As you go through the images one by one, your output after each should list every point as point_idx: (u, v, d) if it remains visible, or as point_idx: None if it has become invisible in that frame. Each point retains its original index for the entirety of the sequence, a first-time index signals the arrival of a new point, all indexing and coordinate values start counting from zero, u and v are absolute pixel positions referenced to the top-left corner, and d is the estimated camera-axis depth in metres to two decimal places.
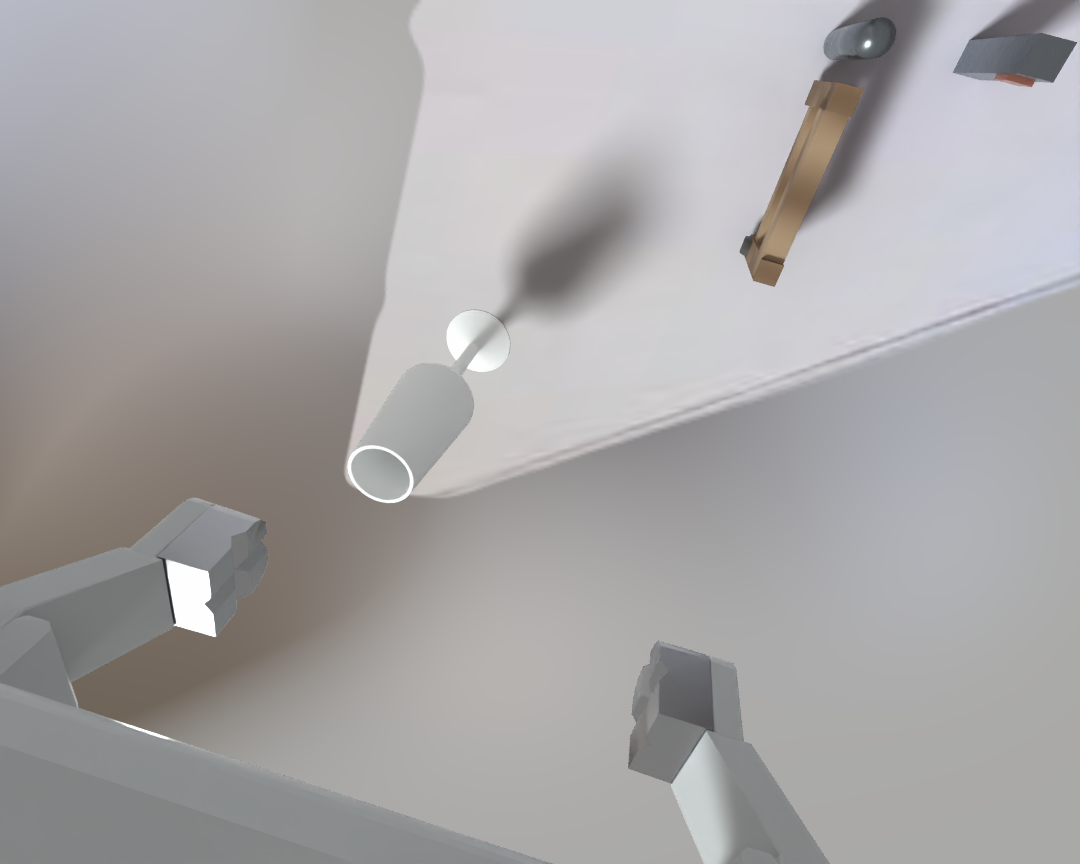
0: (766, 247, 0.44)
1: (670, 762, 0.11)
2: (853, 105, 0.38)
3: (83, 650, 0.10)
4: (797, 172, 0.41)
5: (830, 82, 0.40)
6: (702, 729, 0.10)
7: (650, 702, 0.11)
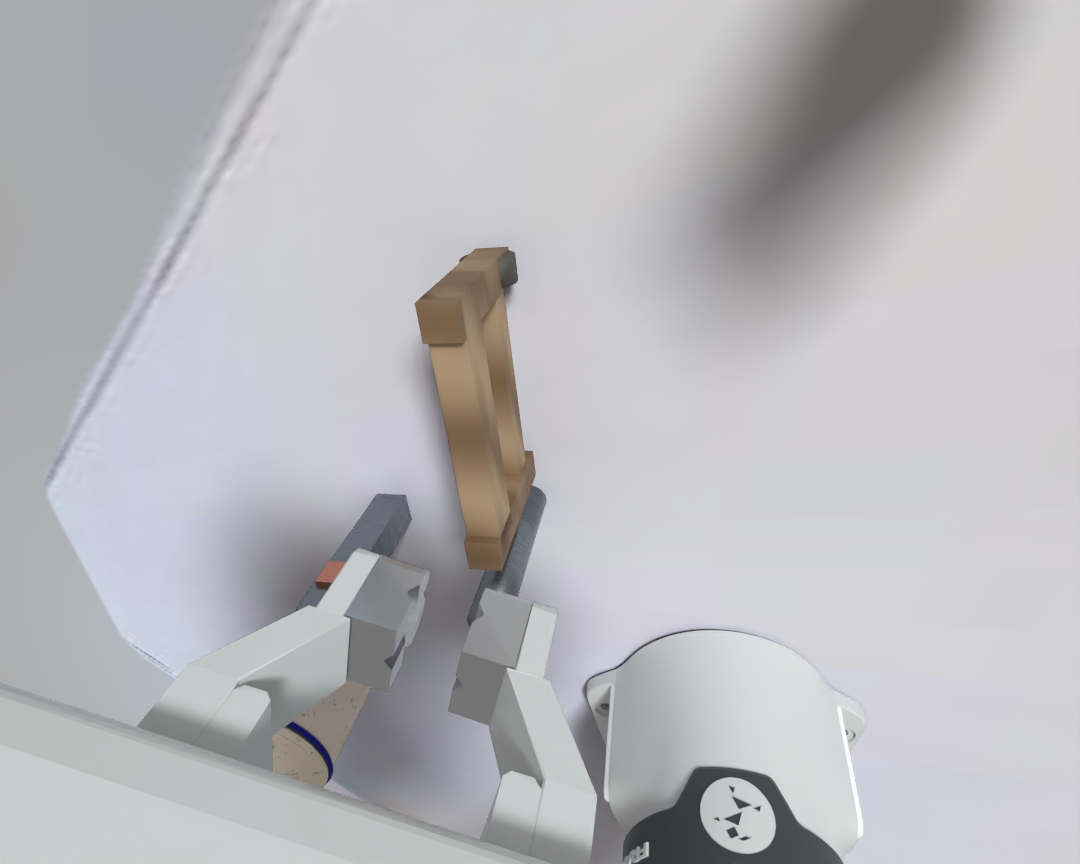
0: (469, 356, 0.24)
1: (484, 703, 0.11)
2: (469, 553, 0.28)
3: (275, 712, 0.10)
4: (489, 464, 0.26)
5: (513, 537, 0.30)
6: (504, 667, 0.10)
7: None
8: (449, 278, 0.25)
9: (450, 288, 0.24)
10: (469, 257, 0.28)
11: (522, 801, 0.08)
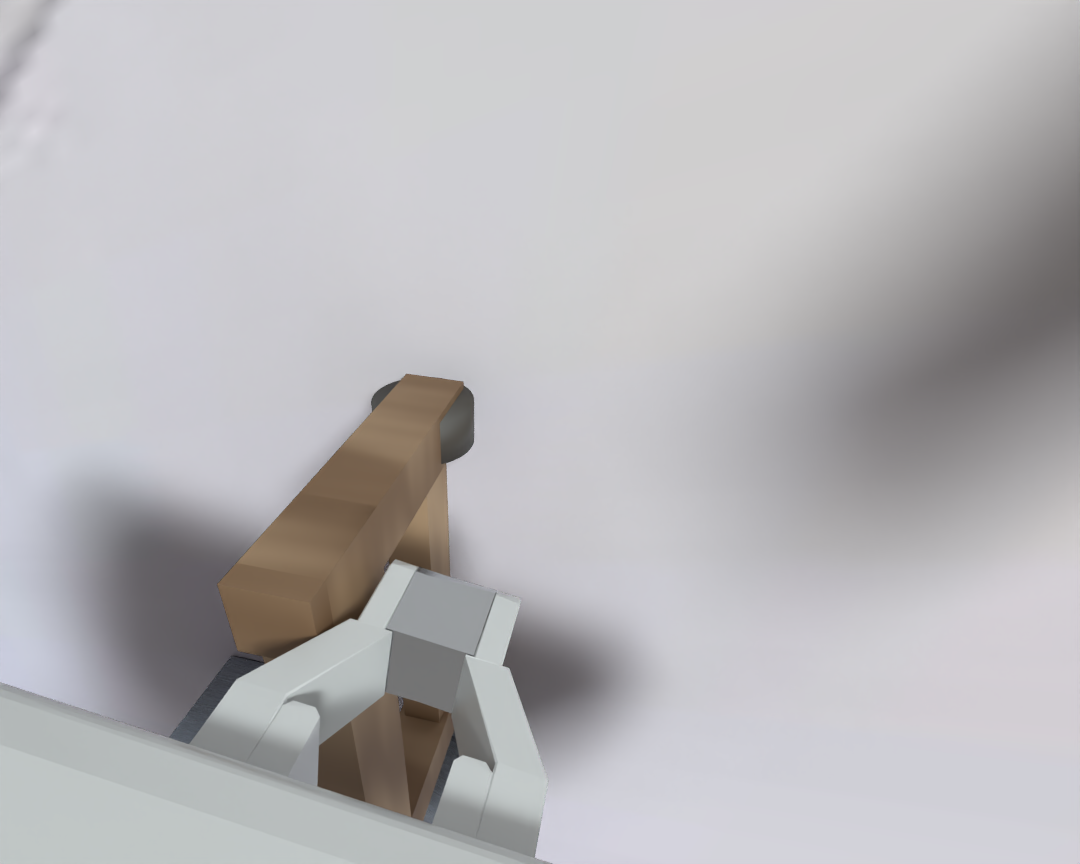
0: None
1: (445, 691, 0.11)
2: None
3: None
4: None
5: None
6: (464, 654, 0.10)
7: None
8: (329, 478, 0.12)
9: (317, 526, 0.11)
10: (388, 402, 0.15)
11: (472, 785, 0.08)
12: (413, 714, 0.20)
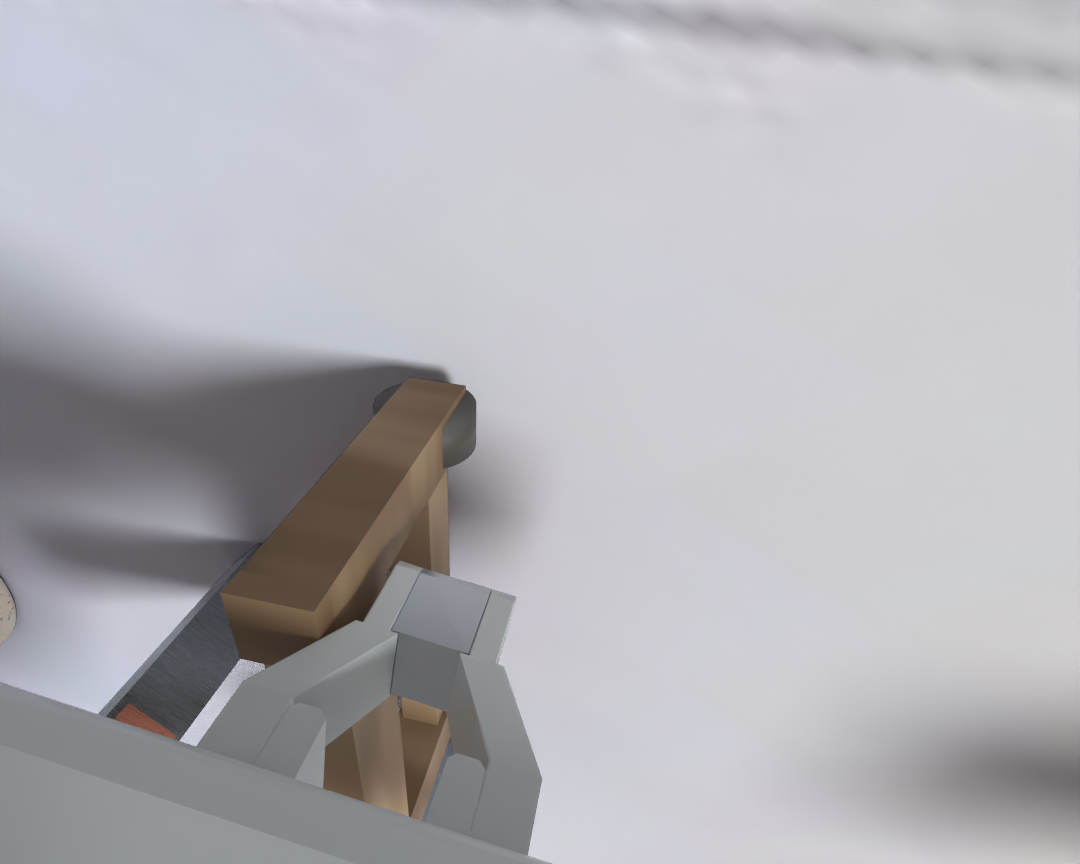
0: None
1: (440, 689, 0.11)
2: None
3: None
4: None
5: None
6: (458, 653, 0.10)
7: None
8: (331, 484, 0.12)
9: (321, 533, 0.11)
10: (390, 406, 0.15)
11: (465, 783, 0.08)
12: (411, 716, 0.20)
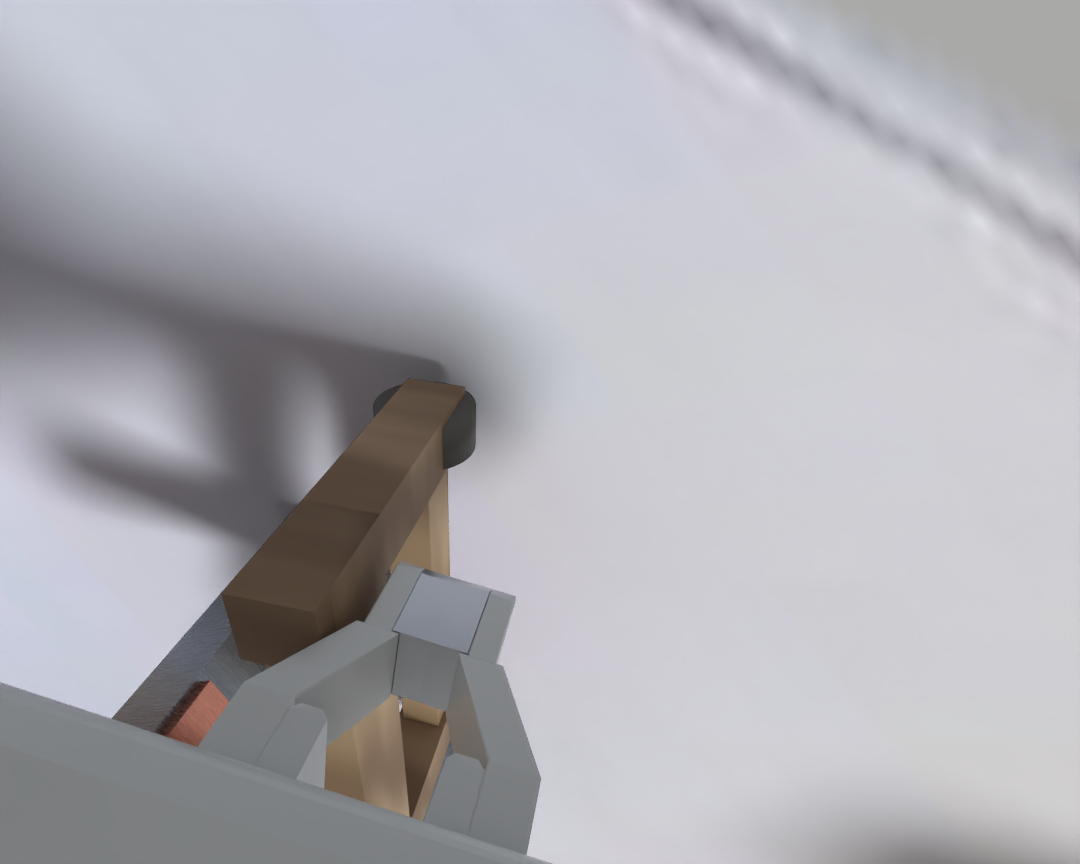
0: None
1: (439, 689, 0.11)
2: None
3: None
4: None
5: None
6: (458, 652, 0.10)
7: None
8: (332, 485, 0.12)
9: (321, 534, 0.11)
10: (390, 407, 0.15)
11: (464, 782, 0.08)
12: (412, 717, 0.20)
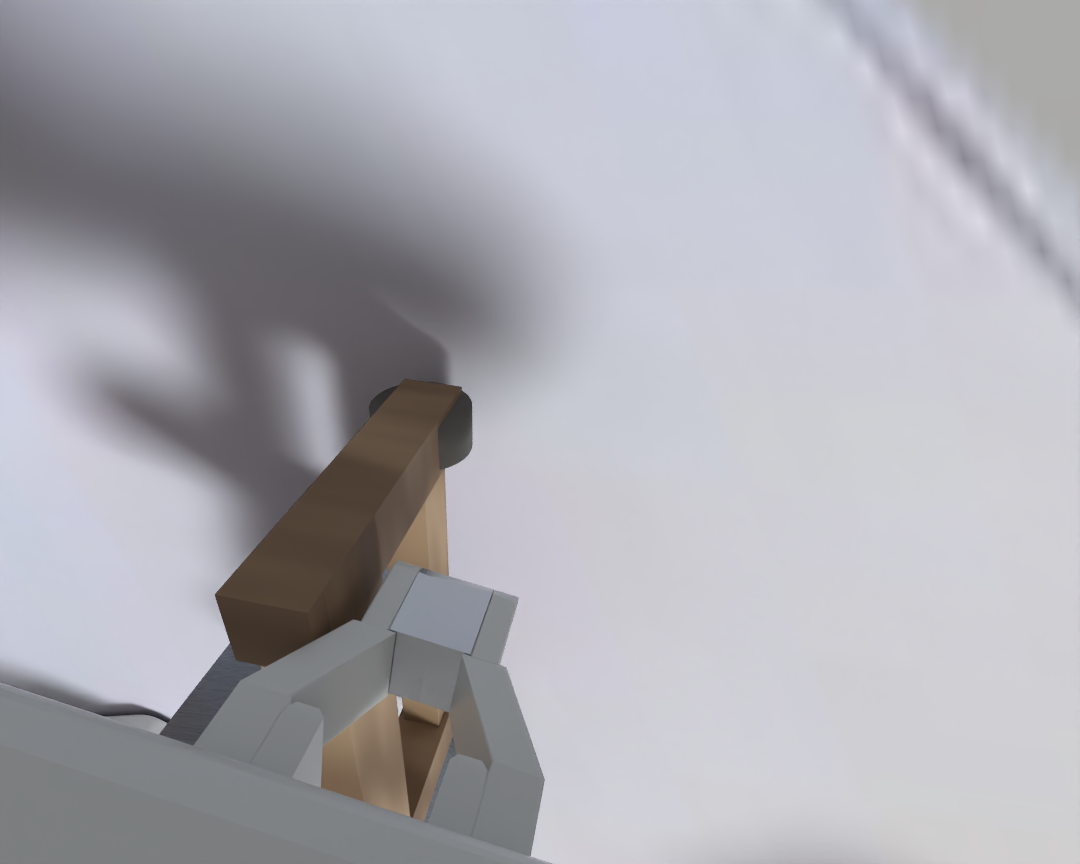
0: None
1: (442, 690, 0.11)
2: None
3: None
4: None
5: None
6: (461, 653, 0.10)
7: None
8: (326, 486, 0.12)
9: (315, 535, 0.11)
10: (386, 408, 0.15)
11: (468, 783, 0.08)
12: (412, 718, 0.20)
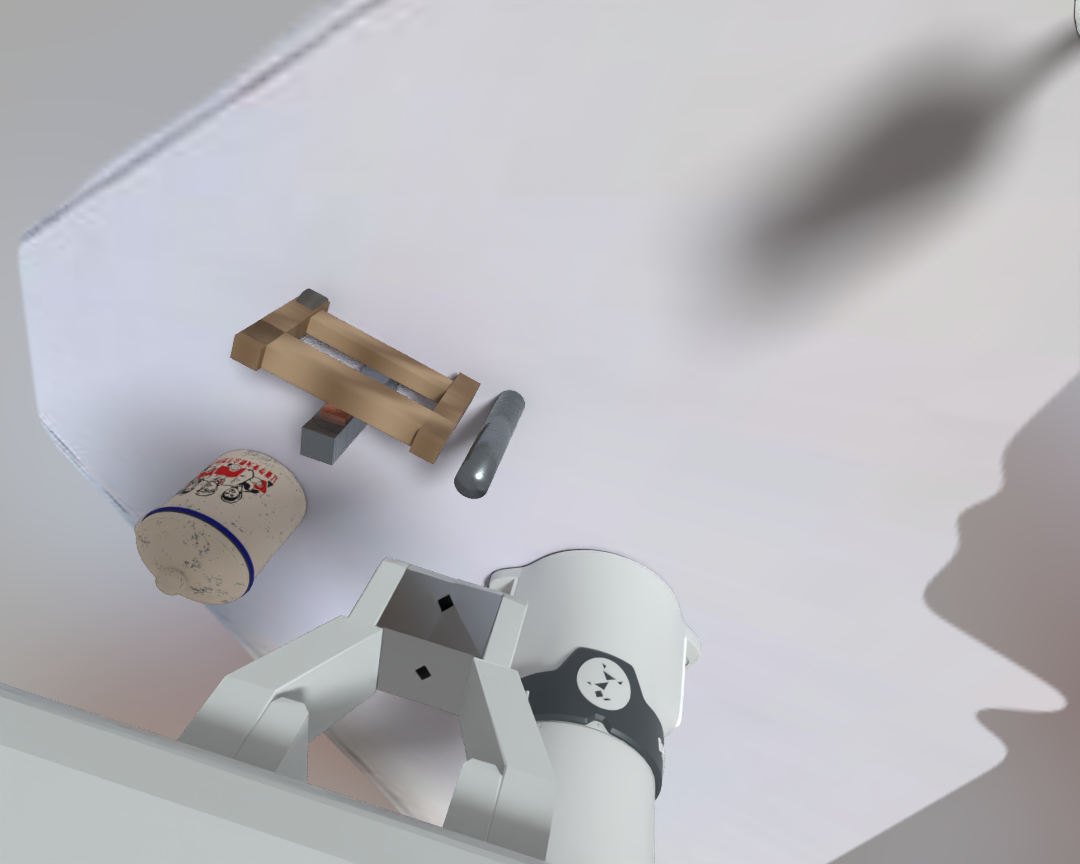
0: (279, 352, 0.35)
1: (453, 693, 0.11)
2: (419, 454, 0.36)
3: (308, 723, 0.10)
4: (362, 393, 0.35)
5: (454, 424, 0.37)
6: (472, 657, 0.10)
7: None
8: None
9: None
10: None
11: (482, 788, 0.08)
12: (439, 399, 0.40)
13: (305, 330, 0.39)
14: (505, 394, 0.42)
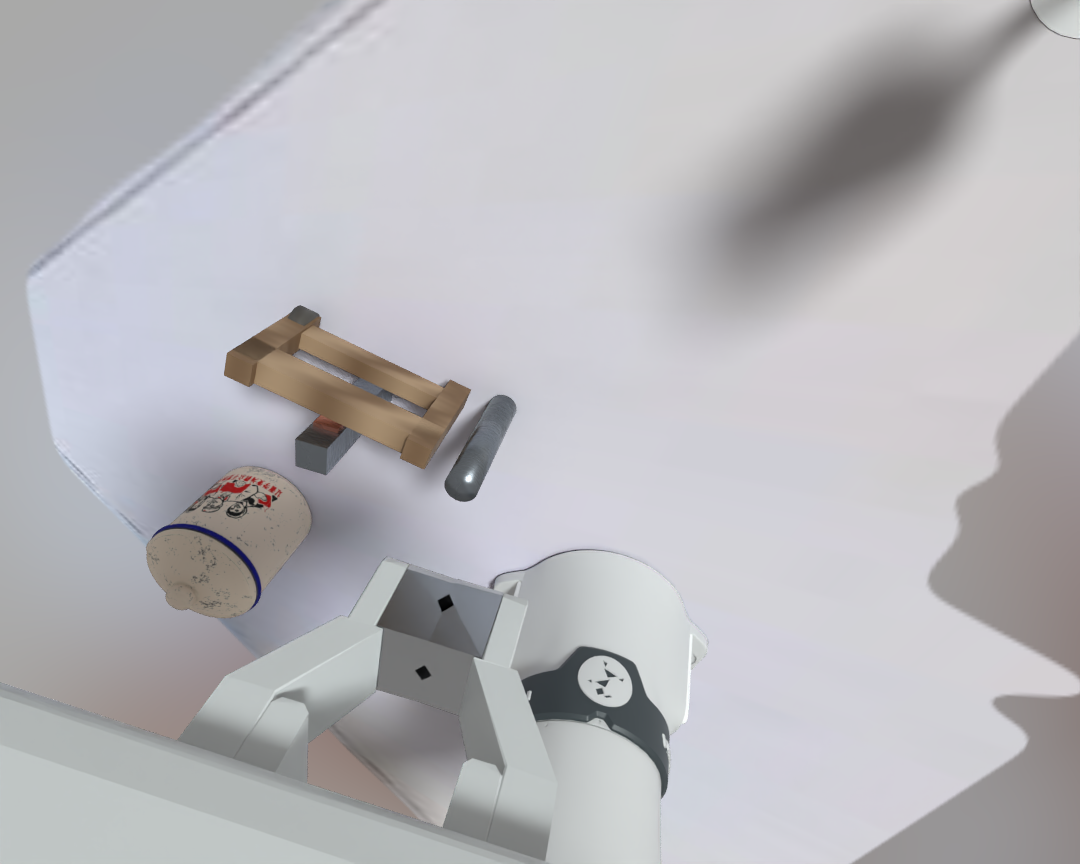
0: (270, 367, 0.36)
1: (453, 693, 0.11)
2: (410, 460, 0.36)
3: (308, 723, 0.10)
4: (352, 403, 0.36)
5: (444, 429, 0.38)
6: (472, 657, 0.10)
7: None
8: None
9: None
10: None
11: (482, 788, 0.08)
12: (430, 407, 0.41)
13: (297, 346, 0.40)
14: (496, 399, 0.43)
